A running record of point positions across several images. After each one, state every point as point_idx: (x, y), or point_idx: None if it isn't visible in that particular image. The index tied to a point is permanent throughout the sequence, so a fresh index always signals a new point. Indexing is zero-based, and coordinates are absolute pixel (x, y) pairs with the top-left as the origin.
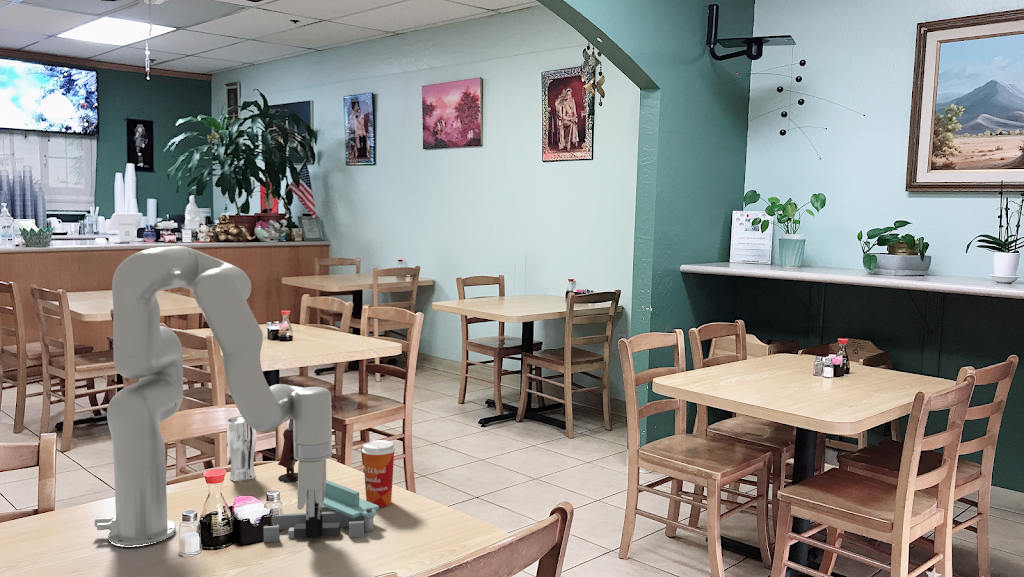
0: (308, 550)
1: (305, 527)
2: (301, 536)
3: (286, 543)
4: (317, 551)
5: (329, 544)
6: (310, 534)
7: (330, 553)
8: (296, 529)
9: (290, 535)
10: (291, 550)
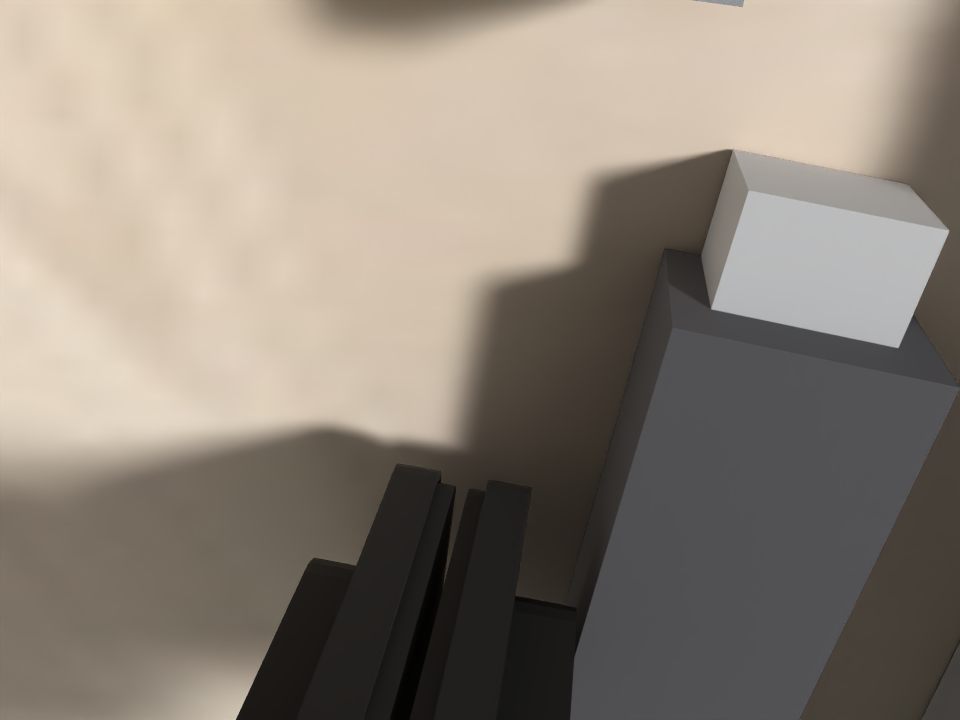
0: (140, 417)
1: (661, 532)
2: (631, 379)
3: (469, 104)
4: (101, 514)
5: None
6: (308, 566)
7: (38, 631)
8: (662, 368)
9: (720, 202)
10: (157, 180)
